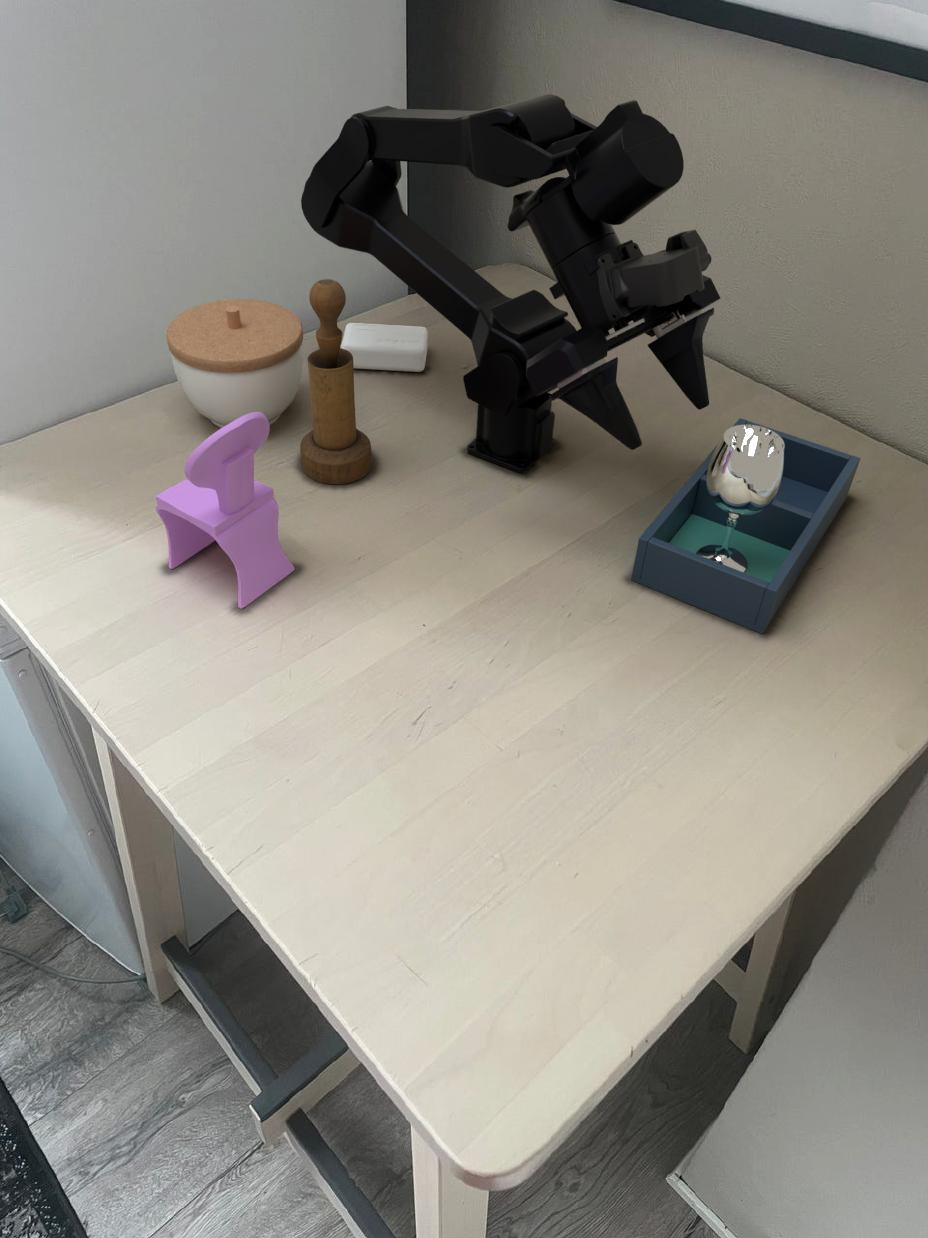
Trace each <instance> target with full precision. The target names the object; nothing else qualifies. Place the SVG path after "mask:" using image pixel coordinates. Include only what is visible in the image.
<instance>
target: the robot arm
mask: <svg viewBox="0 0 928 1238" xmlns="http://www.w3.org/2000/svg"><path fill="white" fill-rule="evenodd" d="M401 162H407V163H421V164H432V165H448V166H459V167H461V168H464V169H467V170H468V171H469V172H470V173H471V174H472V176H473V177H475V179H478V180H481V181H483V182H487V183H489V184H493V185H495V186H499V187H502V188H506V189H507V188H508V189H509V188H514V187H516V186H520V185H522V184H525V183H528V182H532V181H534V180H538V179H542V178H545V177H547V176H551V175H553V174H556V173H558V172H559V173H560V172H561V171H564V170H566V171H567V173H568V176H566V177H564V176H554V177H551V178H549V179H547V180H546V181H545V182H544V183H543V184H542V185H541V186H539V187H538V188H537V189H536V190H535V191H534V190H533V189H529V190H526V191H523V192H520V193H517V194H515V195H513V197H512V207H511V211H510V213H509V216H508V220H507V229H508V231H509V232H511V233H512V232H516V231H518V230H521V229H524V228H527V227H530V230H531V232H532V233H533V236H534V238H535V239H536V241H537V243H538V245H539V247H540V249H541V251H542V254H543V255H544V258H545V260H546V261H547V263H548V265H549V267H550V269H551V270H552V273H553V275H554V278H555V279H556V281H557V282H555V283H554V284H553V285H552V286H550V287H549V288H548V289H549V291H550V294H551V295H552V297H553V299H554V300H557V299H559V298H561V297H564V296H565V299H566V300H567V303H568V305H569V307H570V308H571V310H572V312H573V315H574V316H575V318H576V320H577V323H578V324H579V327H580V328H579V329H578V330H577V328H576V327H575V326H574V325H573V324H572V322H570V320H568V319H566V318H567V317H568V316H569V312H568V311H565V310H562V309H560V308H558V307H557V306H555V305H554V304H553V303H552V302H550V300H549V299H548V298H547V297H546V296H545V295H544V294H543V293H542V292H539V291H538V290H536V289H531V290H529V291H527V292H525V293H523V294H520V295H518V296H515V297H513V298H512V297H509V296H507V295H505V294H504V293H502V292H501V291H500V290H498V288H496V287H495V286H494V285H493V284H492V283H490V282H489V281H487V280H486V279H485V278H484V277H483V276H482V275H481V274H479V273H478V272H477V271H476V270H474V269H473V268H472V267H471V266H470V265H468V264H467V263H466V262H465V261H463V260H462V259H461V258H460V257H458V256H457V255H456V254H455V253H453V252H452V251H451V250H450V249H449V248H447V246H445V245H444V244H443V243H442V242H440V241H439V240H438V239H437V238H436V237H434V236H433V235H432V234H431V233H429V232H428V231H427V230H426V229H425V228H423V227H422V226H421V225H420V224H418V223H417V222H416V220H414V219H412V218H411V217H410V216H409V215H408V214H407V213H405V211H404V208H403V204H402V200H401V196H400V192H399V189H398V187H397V185H398V183H399V182H400V180H401V178H402V175H403V174H402V165H401ZM684 163H685V161H684V155H683V151H682V148H681V146H680V143H679V141H678V138H677V137H676V135H675V134H674V133H672V132H670V131H669V130H668V129H667V127H666V126H665V125H664V124H663V123H662V122H661V121H659V120H658V119H657V118H655V117H654V116H651V115H649V114H647V113H643V111H642V109H641V106H640V104H639V103H638V101H637V100H635V99H632V100H629V101H626V102H623V103H619V104H617V105H616V106H615V107H613V108H612V109H611V110H610V111H609V112H608V113H607V114H606V116H605V117H604V119H603V120H602V122H601V123H599V125H598V126H596V125H594V124H592V123H591V122H589V121H588V120H585V119H584V118H581V117H580V116H578V115H576V114H574V113H572V112H571V111H570V110H569V108H568V107H567V106H566V101H565V100H564V99H563V98H561V97H560V96H558V95H556V94H553V93H548V94H541V95H538V96H534V97H530V98H527V99H521V100H518V101H515V102H511V103H507V104H503V105H499V106H496V107H492V108H488V109H484V110H461V109H422V108H421V109H418V108H417V109H416V108H415V109H414V108H397V107H394V106H393V107H392V106H390V105H383V106H380V107H376V108H372V109H368V110H364V111H359V112H356V113H353V114H352V115H351V116H350V117H349V118H347V119H346V120H345V122H344V123H343V126H342V128H341V131H340V132H339V135H338V137H337V139H336V140H335V141H334V142H333V143H332V144H331V146H330V147H329V148H328V149H327V150H326V151H325V152H324V153H323V154H322V156H321V157H320V158H319V159H318V160H317V161H316V162H315V164H314V166H313V167H312V169H311V172H310V174H309V176H308V178H307V179H306V180H305V184H304V186H303V191H302V194H301V198H300V206H301V212H302V214H303V216H304V218H305V220H306V222H307V223H308V224H309V226H310V228H311V229H312V230H313V231H314V232H315V233H316V234H318V235H319V236H320V237H322V238H324V239H325V240H327V241H329V242H330V243H332V244H333V245H335V246H337V247H338V248H343V249H347V250H350V251H356V252H361V253H365V254H368V255H370V256H372V257H373V258H375V259H376V260H377V261H378V262H379V263H381V264H382V265H383V266H384V267H385V268H386V269H388V270H389V271H390V272H391V273H392V274H393V275H394V276H396V277H397V278H398V279H399V280H400V281H402V282H403V283H404V284H405V285H406V286H407V287H409V288H410V290H412V291H413V292H414V293H415V294H417V295H418V296H419V297H420V298H422V299H423V301H425V302H426V303H428V305H429V306H431V307H432V309H434V310H435V311H436V312H438V313H439V314H440V315H441V316H443V318H445V319H446V320H447V321H448V322H449V323H450V324H451V325H453V326H454V327H455V328H457V329H458V330H459V331H460V332H461V333H462V334H464V335H465V336H466V337H467V338H468V339H469V340H470V341H471V346H472V349H473V352H474V356H475V361H476V364H477V366H476V367H474V368H473V369H472V370H470V371H468V372H467V373H466V374H464V375H463V376H462V380H463V385H464V390H465V394H466V398H467V399H468V400H470V401H472V402H474V403H475V404H477V414H476V415H477V416H476V429H475V431H476V432H475V435H476V436H475V439H473V440H472V441H471V442H470V443H469V444H467V445H466V451H467V453H468V454H471V455H473V456H476V457H479V458H481V459H484V460H486V461H489V462H492V463H494V464H497V465H499V466H502V467H505V468H506V469H507V468H508V469H510V470H512V471H514V472H517V473H523V474H524V473H526V472H528V470H529V469H530V468H531V467H533V466H534V465H535V463H537V462H538V461H540V460H541V459H542V458H544V456H545V455H546V454H547V453H548V452H549V451H550V450H551V449H552V448H553V447H554V446H555V444H556V439H555V438H554V437H553V436H554V428H555V427H554V426H555V419H556V413H555V411H554V410H553V411H552V403H553V401H555V400H557V399H558V400H560V401H562V403H565V404H566V405H568V406H569V407H571V408H573V409H574V410H576V411H577V412H579V413H581V414H582V415H584V416H585V417H586V418H588V419H590V420H591V421H592V422H594V423H595V424H596V425H598V426H599V427H600V428H601V429H603V430H604V431H605V432H607V433H608V434H609V435H610V436H612V437H613V438H614V439H616V440H617V441H618V442H620V443H621V444H623V445H624V446H625V447H627V448H628V449H629V450H631V451H634V450H636V449H639V448H640V447H642V445H643V442H642V439H641V435H640V432H639V429H638V427H637V424H636V422H635V420H634V418H633V417H632V414H631V412H630V410H629V407H628V405H627V403H626V401H625V399H624V396H623V394H622V392H621V390H620V388H619V386H618V381H617V375H618V365H619V358H618V356H616V357H614V358H613V359H611V360H608V361H606V360H605V358H606V357H608V352H610V351H612V350H614V349H616V348H618V347H620V346H622V345H624V344H626V343H628V342H630V341H632V340H634V339H636V338H639V336H642V335H644V334H645V335H647V336H649V337H651V338H653V337H656V339H654V340H653V341H651V342H650V343H647V347H648V349H649V350H650V351H651V352H652V354H653V355H654V356H655V358H656V360H658V362H659V363H660V364H661V366H662V367H663V368H664V370H665V371H666V372H667V374H669V376H670V378H671V379H672V380H673V381H674V383H675V384H676V385H677V387H678V388H679V389H680V390H681V392H682V393H683V395H684V396H685V397H686V398H687V399H688V400H689V401H690V402H691V404H692V405H693V406H694V407H695V408H696V409H697V410H703V409H704V408H707V407H708V406H709V405H710V396H709V390H708V381H707V375H706V366H705V358H704V346H703V345H704V343H703V338H704V337H703V336H704V333H705V330H706V327H707V325H708V322H709V319H710V318H711V317H712V316H713V315H714V314H715V307H712V308H710V309H708V310H705V311H704V312H702V310H704V309H706V308H707V307H709V306H710V305H713V304H714V303H716V302H718V301H719V300H720V299H721V296H720V294H719V292H718V290H717V288H716V285H715V283H714V282H713V280H712V277H709V276H707V275H704V274H703V272H705V271H706V270H707V269H708V268H709V266H710V265H711V263H712V258H713V257H712V255H711V254H710V253H709V252H708V248H707V245H706V244H705V242H704V241H703V238H702V237H701V236H700V234H699V233H698V231H697V230H696V229H690V230H685V231H680V232H678V233H676V234H674V235H672V236H669V237H668V238H667V240H666V245H665V249H662V250H660V251H657V252H655V253H651V254H643V252H642V250H641V249H640V246H639V244H638V243H636V242H634V240H633V239H630V240H628V241H626V242H623V243H621V241H620V239H619V237H618V234H617V233H616V231H615V229H614V227H613V226H620V225H623V224H625V223H626V222H628V221H629V220H630V219H632V218H633V217H634V216H636V215H637V214H638V213H639V212H641V211H643V210H644V209H645V208H646V207H647V206H649V205H651V204H652V203H653V202H654V201H656V200H657V199H658V198H660V197H661V196H662V195H664V194H665V193H666V192H667V191H669V190H670V189H672V188H673V187H674V186H676V185H677V184H678V183H679V182H680V181H681V178H682V177H683V173H684V170H685V169H684V167H685V165H684ZM631 322H632V323H631ZM629 323H630V324H629ZM612 329H613V330H614V331H613V332H612V333H610V331H611V330H612ZM555 389H558V390H556V391H554V390H555ZM551 391H554V392H551ZM550 392H551V393H550Z"/></svg>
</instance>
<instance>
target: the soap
mask: <svg viewBox="0 0 928 1238" xmlns="http://www.w3.org/2000/svg"><path fill="white" fill-rule="evenodd" d="M428 337H429V333H428V329H427V328H426V327H424V326H417V325H416V326H415V325H403V324H402V325H399V324H379V323H364V322H363V323H362V322H348V323H347V324H346V325H345V328H344V332H343V336H342V341H341V345H340V348H342V349H345V350H347V351H349V352H350V353H351V354H352V355H353V367H354V369H357V370H359V369H361V370H374V371H375V370H380V371H394V372H395V371H396V372H397V371H398V372H411V373H413V372H414V373H420V372H423V371H424V369H425V368H426V361H427V354H428V348H429V347H428V342H429V341H428Z"/></svg>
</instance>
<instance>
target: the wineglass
mask: <svg viewBox="0 0 928 1238" xmlns="http://www.w3.org/2000/svg"><path fill="white" fill-rule="evenodd" d="M733 426H734V425H733ZM733 426H731V427H729V428H728V429H726V430H725V432H724V433H723V434H722V436H721V438H720V440H719V441H718V443H719V444H718V443H717V445H718V446H717V445H716V446H717V447H716V446H715V447H716V449H715V451H714V454H713V456H712V458H711V461H710V464H709V467H708V471H707V479H706V485H707V491H708V494H709V496H710V498H711V499H712V501H713V502H714V503H715V504H716V505H717V506H718V507H719V508H721V509H723V510H724V511H726V512H729V513H728V515H727V520H726V521H727V530H726V535H725V539H724V542H723V545H721V544H710V545H706V546H703V547H701V548H700V549H699V550H698V551H697V552H696V554H698V555H700V556H703V557H705V558H708V559H710V560H713V561H715V562H718V563H721V564H723V565H726V566H728V567H731V568H733V569H736V570H738V571H741V572H744V573H745V572H746V570H747V568H748V562H747V559H746V557H745V556H744V555H743V554H742V553H741V552H740V551H738V550H736V549H735V548H732V547H730V546H729V542H730V538H731V535H732V532H733V530H734V528H735V526H736V525H737V524H738V522H739V517H740V515H752V514H756V513H759V512H761V511H763V510H765V509H766V508H767V507H768V506H769V505H771V504H772V502H773V501H774V499H775V498H776V496H777V494H778V492H779V490H780V486H781V483H782V479H783V473H784V457H785V444H784V441H783V439H782V438H781V437H780V436H779V435H778V434H776V433H775V432H773V431H771V430H769V429H767V428H764V427H760V426H756V425H737V426H734V427H733Z"/></svg>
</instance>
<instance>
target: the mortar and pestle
mask: <svg viewBox="0 0 928 1238" xmlns="http://www.w3.org/2000/svg"><path fill="white" fill-rule="evenodd" d="M308 295H309V296H308V297H309V304H310V306H311V308H312V310H313V312H314V313H315V314H316V316H317V318H318V319H319V322H320V323H319V328H318V329H316V331H315V338H316V343H317V345H318V349H316V350H314V351H313V352H311V353H310V354H309V355H308V356H307V369H308V379H309V380H308V381H309V393H310V403H311V404H310V405H311V419H312V430H310V431H308V432H307V433H306V434H305V435H303V437H302V439H301V441H300V445H299V448H300V450H299V451H300V465H301V468H302V470H303V472H304V473H305V475H306V476H308V477H309V478H310V479H312V480H314V481H315V482H318V483H322V484H327V485H345V484H350V483H354V482H357V481H359V480H360V479H363V478H364V477H365V476H367V474H369V472H370V470H371V468H372V463H373V460H372V459H373V458H372V457H373V456H372V443H371V441H370V438H369V436H368V435H367V434H365V433H364V432H363V431H361V430H360V429H358V428H357V420H356V419H357V418H356V401H355V375H354V374H355V373H354V369H355V368H354V367H353V355H352V354H351V353H350V352H349V351H347V350H345V349H342V348H341V344H342V341H343V331H342V329H341V328H339V326H338V320H339V317H340V315H341V314H342V312H343V310H344V309H345V305H346V302H347V301H346V300H347V296H346V292H345V290H344V287H343V286H342V284H341V283H339V282H338V281H337V280H334V279H331V278H324V279H320V280H317V281H316V282H315V283H313V285H312V286H311V288H310V290H309V294H308Z"/></svg>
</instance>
